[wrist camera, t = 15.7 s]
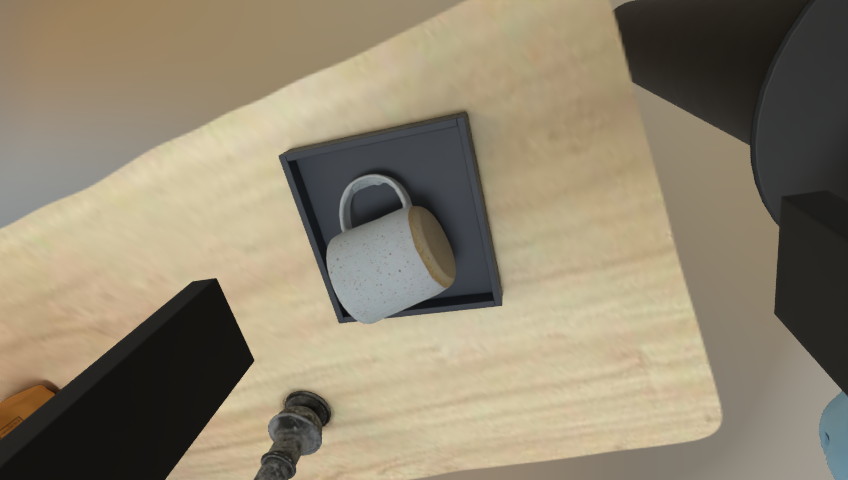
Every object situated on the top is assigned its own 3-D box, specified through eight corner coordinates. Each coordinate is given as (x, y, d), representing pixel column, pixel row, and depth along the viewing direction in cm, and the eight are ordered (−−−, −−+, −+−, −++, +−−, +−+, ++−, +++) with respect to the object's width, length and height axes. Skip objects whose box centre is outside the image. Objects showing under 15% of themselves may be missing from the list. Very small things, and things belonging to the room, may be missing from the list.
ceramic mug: (466, 260, 40) (456, 308, 33) (387, 293, 43) (362, 344, 36) (404, 151, 37) (379, 179, 30) (324, 194, 40) (284, 229, 33)
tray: (466, 111, 36) (464, 116, 34) (502, 293, 42) (502, 306, 40) (288, 149, 39) (278, 155, 38) (345, 311, 46) (339, 323, 44)
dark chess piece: (311, 436, 54) (261, 540, 43) (272, 404, 53) (211, 502, 42) (343, 414, 51) (299, 518, 41) (304, 380, 50) (247, 478, 40)
